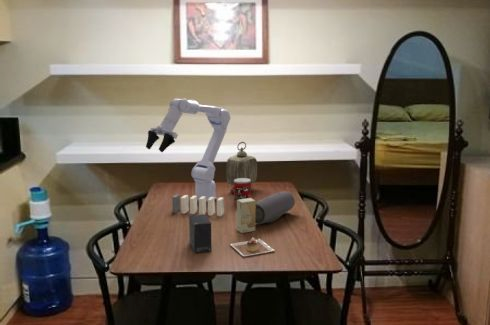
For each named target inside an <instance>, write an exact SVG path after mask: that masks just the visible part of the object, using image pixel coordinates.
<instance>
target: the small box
mask: <svg viewBox="0 0 490 325" xmlns="http://www.w3.org/2000/svg"><path fill="white" fill-rule="evenodd" d="M188 225H189V226H188V228H189V230H188V232H189V233H188V235H189V237H188V238H189V239H188V242H189V243H188V244H189V246H190V247H191V249H192V251H193V253H194V254H200V253H208V252H212V251H213V250H212V247H213V246H212V222H211V220H210V219H209V218H208V215H206V213H204V214H203V215H199V214H190V215H188Z"/></svg>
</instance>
